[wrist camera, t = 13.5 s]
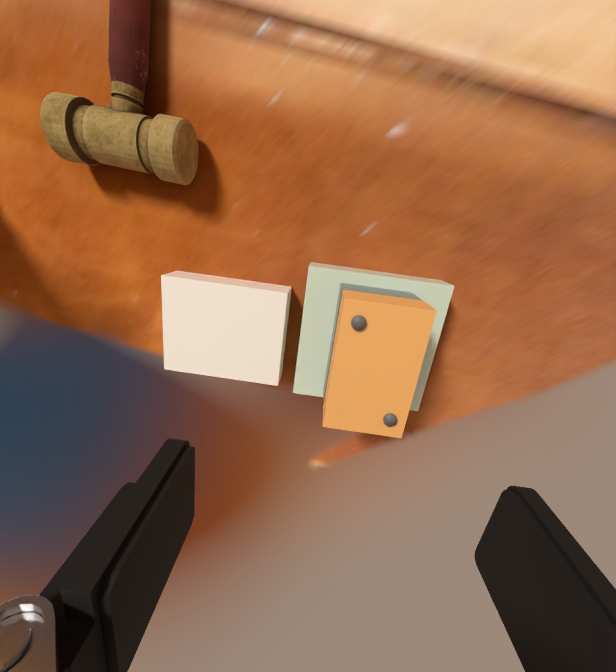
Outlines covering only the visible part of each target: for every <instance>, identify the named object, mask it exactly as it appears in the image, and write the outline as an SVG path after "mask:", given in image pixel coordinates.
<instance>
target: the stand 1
mask: <svg viewBox="0 0 616 672" xmlns="http://www.w3.org/2000/svg"><path fill="white" fill-rule="evenodd" d="M161 285H162V315H163V346H164V369H167V370H174V371H180V372H188V373H194V374H201V375H207V376H215V377H221V378H228V379H234V380H241V381H248V382H255V383H261V384H268V385H275V386H278V384H279V381H280V378H281V375H282V371H283V362H284V353H285V344H286V335H287V326H288V317H289V308H290V299H291V290H292V287H290V286H283V285H276V284H269V283H261V282H254V281H247V280H240V279H233V278H226V277H219V276H212V275H205V274H197V273H190V272H183V271H175V272H171V273H167V274H164V275H161Z"/></svg>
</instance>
